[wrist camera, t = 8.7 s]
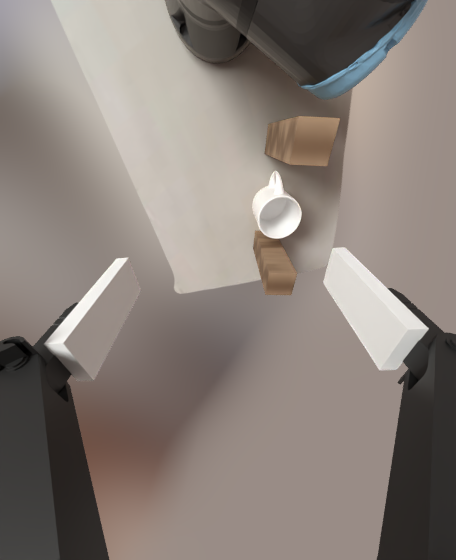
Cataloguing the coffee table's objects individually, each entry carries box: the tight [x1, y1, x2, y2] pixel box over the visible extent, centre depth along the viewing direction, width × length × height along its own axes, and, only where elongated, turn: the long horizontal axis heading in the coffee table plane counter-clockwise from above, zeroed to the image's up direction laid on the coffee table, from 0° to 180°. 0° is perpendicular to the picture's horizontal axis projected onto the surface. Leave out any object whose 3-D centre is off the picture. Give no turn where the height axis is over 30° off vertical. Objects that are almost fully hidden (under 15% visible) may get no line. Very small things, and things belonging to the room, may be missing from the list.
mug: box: [252, 171, 302, 239], centre depth 44 cm, size 9×12×11 cm
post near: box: [265, 116, 340, 166], centre depth 34 cm, size 5×5×20 cm
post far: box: [253, 231, 297, 295], centre depth 46 cm, size 5×5×20 cm
